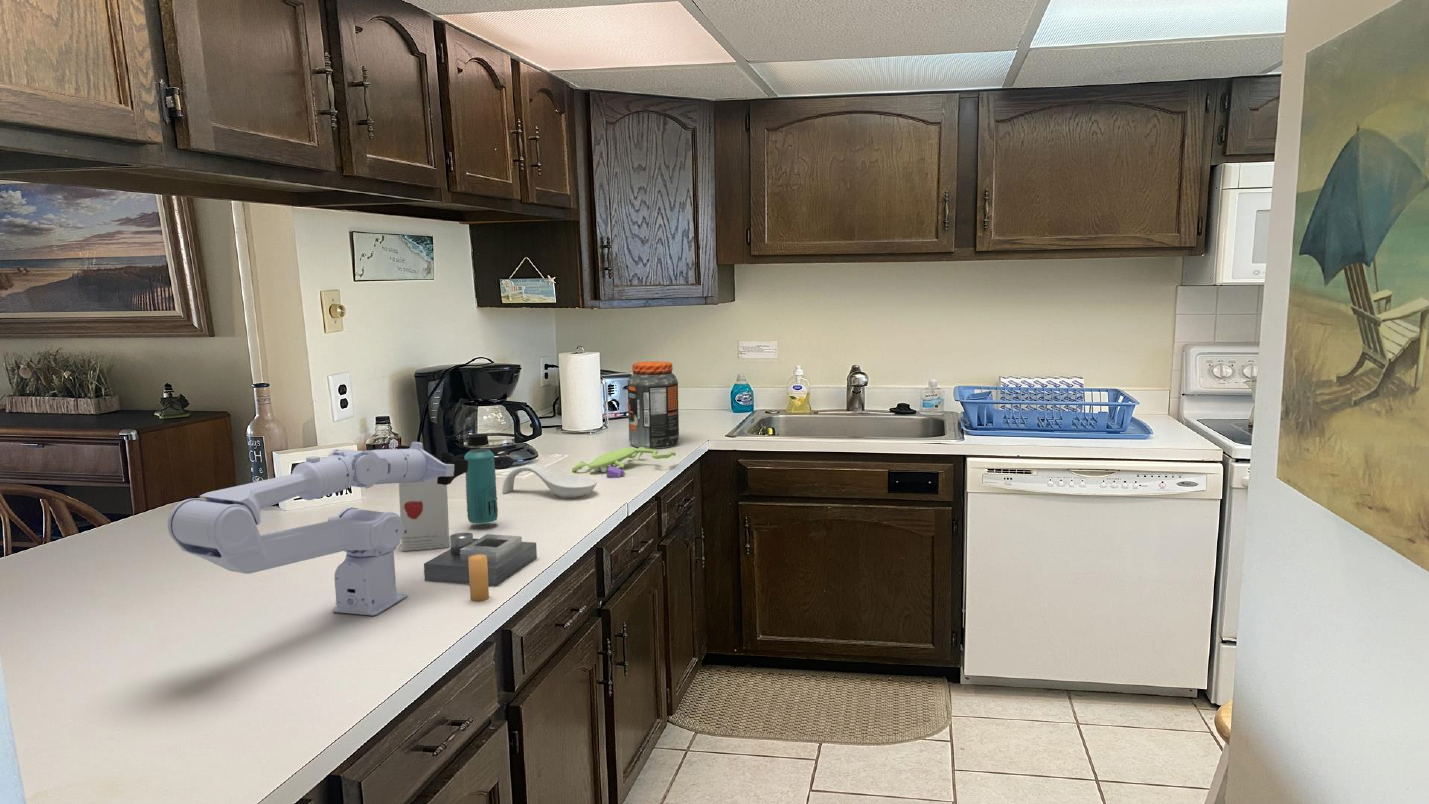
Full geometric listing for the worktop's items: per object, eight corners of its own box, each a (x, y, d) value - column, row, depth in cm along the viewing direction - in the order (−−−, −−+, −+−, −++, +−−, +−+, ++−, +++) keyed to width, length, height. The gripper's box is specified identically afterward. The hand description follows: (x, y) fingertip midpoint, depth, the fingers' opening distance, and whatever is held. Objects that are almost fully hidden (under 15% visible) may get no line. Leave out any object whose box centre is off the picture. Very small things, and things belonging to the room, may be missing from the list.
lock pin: (483, 601, 150) (481, 560, 149) (467, 600, 151) (464, 559, 150) (492, 595, 153) (490, 555, 152) (476, 594, 154) (474, 553, 153)
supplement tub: (631, 440, 295) (629, 360, 291) (680, 440, 295) (678, 360, 291) (626, 450, 279) (624, 365, 275) (677, 449, 279) (676, 365, 275)
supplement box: (401, 552, 178) (396, 477, 176) (403, 539, 186) (399, 467, 184) (449, 548, 180) (445, 473, 178) (450, 535, 189) (446, 464, 187)
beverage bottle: (490, 531, 192) (486, 437, 189) (461, 529, 193) (456, 436, 190) (503, 523, 198) (499, 432, 195) (475, 521, 199) (471, 431, 197)
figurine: (683, 469, 253) (683, 449, 252) (599, 483, 237) (599, 461, 236) (647, 459, 267) (646, 440, 267) (565, 471, 251) (565, 451, 251)
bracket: (496, 563, 161) (495, 552, 160) (460, 560, 162) (460, 549, 162) (521, 546, 170) (521, 536, 170) (487, 544, 172) (487, 534, 172)
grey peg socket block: (496, 585, 158) (495, 552, 157) (424, 580, 161) (422, 547, 160) (536, 557, 173) (535, 527, 172) (470, 553, 176) (468, 523, 176)
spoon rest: (603, 491, 227) (602, 463, 226) (586, 503, 215) (585, 473, 214) (515, 487, 232) (514, 460, 231) (494, 498, 221) (493, 469, 220)
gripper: (430, 447, 150) (483, 446, 162) (364, 437, 156) (420, 436, 168) (426, 490, 150) (479, 485, 163) (360, 478, 156) (417, 474, 168)
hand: (449, 463), depth 165 cm, fingers open, 7 cm apart
